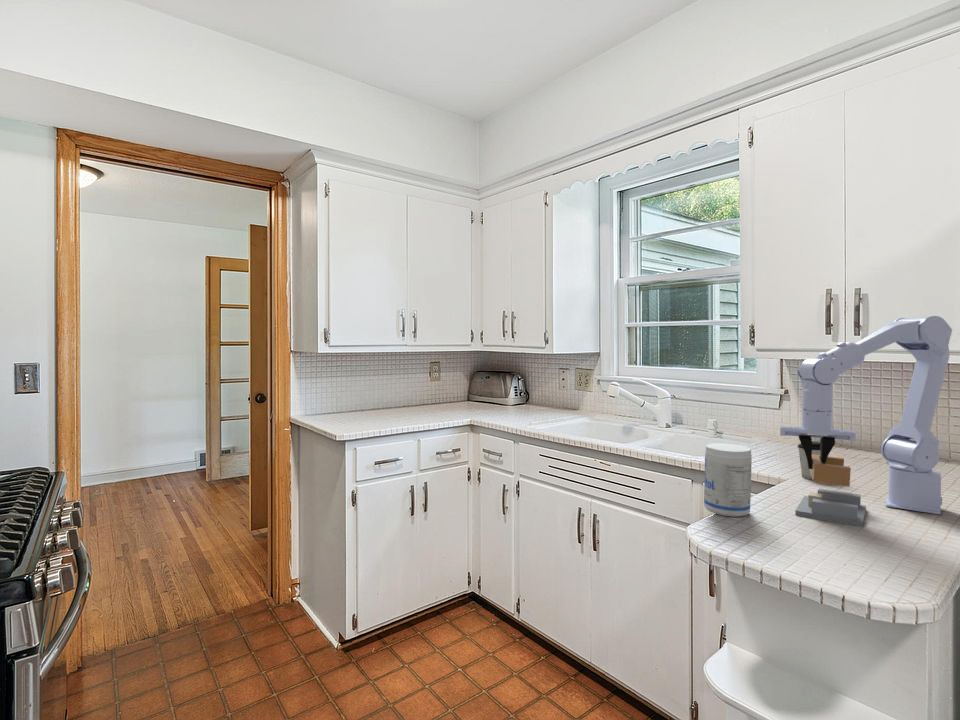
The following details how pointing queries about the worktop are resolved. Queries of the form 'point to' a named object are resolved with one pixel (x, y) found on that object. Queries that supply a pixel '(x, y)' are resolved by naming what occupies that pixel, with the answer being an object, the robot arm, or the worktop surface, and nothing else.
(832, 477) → the tan c-shaped bracket
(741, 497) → the supplement tub
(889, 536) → the worktop surface
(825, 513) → the display stand
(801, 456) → the coffee cup
